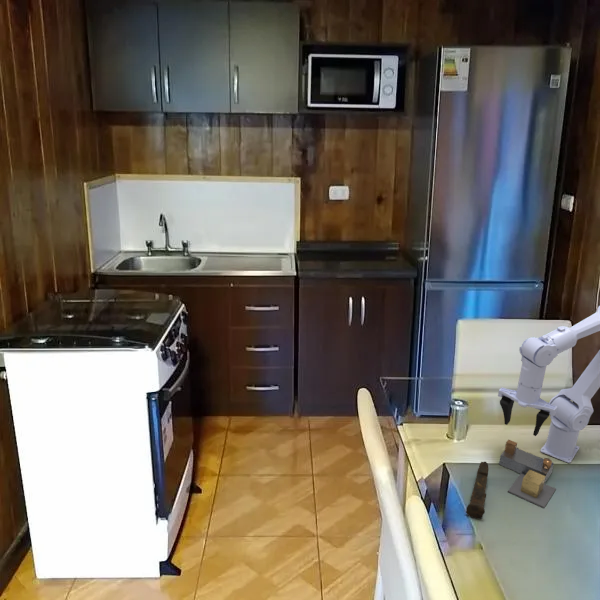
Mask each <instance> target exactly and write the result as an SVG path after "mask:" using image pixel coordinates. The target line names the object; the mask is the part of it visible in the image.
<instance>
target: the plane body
mask: <svg viewBox="0 0 600 600" xmlns="http://www.w3.org/2000/svg"><path fill="white" fill-rule="evenodd" d="M498 465H500V466H502V467H504V468H506V469H509V470H511V471H514V472H516V473H518V474H519V475H520V474H523V475H526V474H527V472H528V471H529V470H532V471H534V472H537V473H539V474H541V475H544V476H546V477H545V481H544V484H546V482H547V481H548V479H549V477H551V475H552V472H553V469H554V465H555V463H554V462H553V461H552V459H550V458H547V457H545V458H542V457H540V456H537V455H535V454H532V453H531V452H528V451H526V450H522V449H519V448H518V442H516V441H513V440H511V439H507V441H506V442H505V448H504V450H503V452H502V453H501V454H500V456H499V461H498Z"/></svg>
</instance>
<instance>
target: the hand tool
mask: <svg viewBox="0 0 600 600" xmlns="http://www.w3.org/2000/svg"><path fill="white" fill-rule="evenodd" d="M488 475H489V463H488V462H487V461H481V462H480V463H479V465H478V468H477V471H476V477H475V480H474V484H473V488H472V493H471V497H470V500H469V504H468V505H467V506H466V510H465V513H466V515H467V516H468V517H471V518H473V519H483V516H484V514H485V511H486V509H485V507H484V505H485V502H486V499H487V493H486V490H487V484H488V483H487V482H488Z"/></svg>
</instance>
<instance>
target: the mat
mask: <svg viewBox="0 0 600 600" xmlns="http://www.w3.org/2000/svg"><path fill="white" fill-rule="evenodd" d="M524 476H525V475H523V474H520V473H519V475H518V476H517V478H516V479H515V481H513V483H512V485H511V486H510V487H509V488H508V490H507V493H509V494H511V495H514V496H515V497H518V498H520V499H522V500H525V501H527V502H529V503H531V504H533V505H536V506H537V507H540V508H542V509H545V507H546V506H547V505H548V503H549V501H550V500H551V499H552V497H553V495H554V493H555V492H556V490H557V489H556V488H555V487H553V486H551V485H549V484H546V483H545V484H544V486H543V490H542V491H541V493H540V494H539V495H538V497H537V498H535V497H533V496H530V495H528V494H526V493H524V492H521V486H522V482H523V478H524Z"/></svg>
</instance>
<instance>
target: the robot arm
mask: <svg viewBox="0 0 600 600" xmlns="http://www.w3.org/2000/svg"><path fill="white" fill-rule="evenodd" d="M598 332H600V305H598V307H597V309H596V311H595V313H593V314H591V315H590V316H588V317H586V318H584V319H582V320H581V321H579V322H578V323H575V324H574V325H573V326H570V327H569V326H566V325H559V326H558V327H557V328H556V329H553V330H552V331H550V332H548V333H546V334H543V335H541V336H538V337H537V336H535V337H534V336H531V337H529V338H528V337H527V338H526V339H525V340H523V342H522V344H521V346H519V350H518V351H519V353H520V356H521V359H520V361H521V367H520V372H519V379H518V384H517V388H516V390H515V389H510V388H505V387H500V388H499V390H498V393H497V397H499V398H501V399H499V405H500V407H501V410H502V412H503V419H504V420H503V421H504V425H506V426H507V425H508V424H510V422H511V418H512V411H513V407H514V404H515V403H517V405H518V406H519V407H523V408H527V407H528V408H533V409H536V410H538V412H537V414H536V420H535V427H534V429H533V434H532V435H533V436H535V437H536V436H537V435H538V434H539V433H540V430H541V428H542V426H543V424H544V423H545V422H546V420H548V418H549V419H551V421H550V424H549V425H550V426H549V429H548V434H547V438H546V441H545V443H544V445H543V446H542V447H541V448H540V453H542V454H545V455H548V456H549V457H553V458H555V459H557V460H560V461H562V462H565V463H567V464H570V463H572V461H573V459H574V457H576V455H577V453H578V451H579V449H580V445H577V444H578V443H577V442H578V439H579V435H580V431H582V430H584V429H585V428H586V427H587V425H588V424H589V422H590V418H591V417H592V415H593V413H594V408H593V404H592V401H591V399H592V398H593V397H594V395H595V394H596V393H597V392H598V390H599V389H600V349H599V350H598V351H597V353H596V354H595V356H594V357H593V358H592V360H591V361H590V362H589V363H588V365H587V366H586V368H585V369H584V370H583V371H582V373H581V375H580V376H579V378H578V379H577V380H576V382H575V383H574V384H573V385H572V387H569V388H568V387H567V388H561V389H560V391H559V392H558V393H557V394H556V395H554V396H553V397H551V399H550V400H549V402H548V401H546V400H544V399H543V398H540V397H541V394H542V389H543V383H544V379H545V374H546V370H547V366H549V365H550V364H551V363H553V360H554V359H556V358H557V356H558V355H560V354H561V353H563V352H565V351H568V350H570V349H571V348H574V347H575V346H576V344H577V342H578V340H580V339H582V338H585V337H588V336H590V335H592V334H595V333H598Z"/></svg>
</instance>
